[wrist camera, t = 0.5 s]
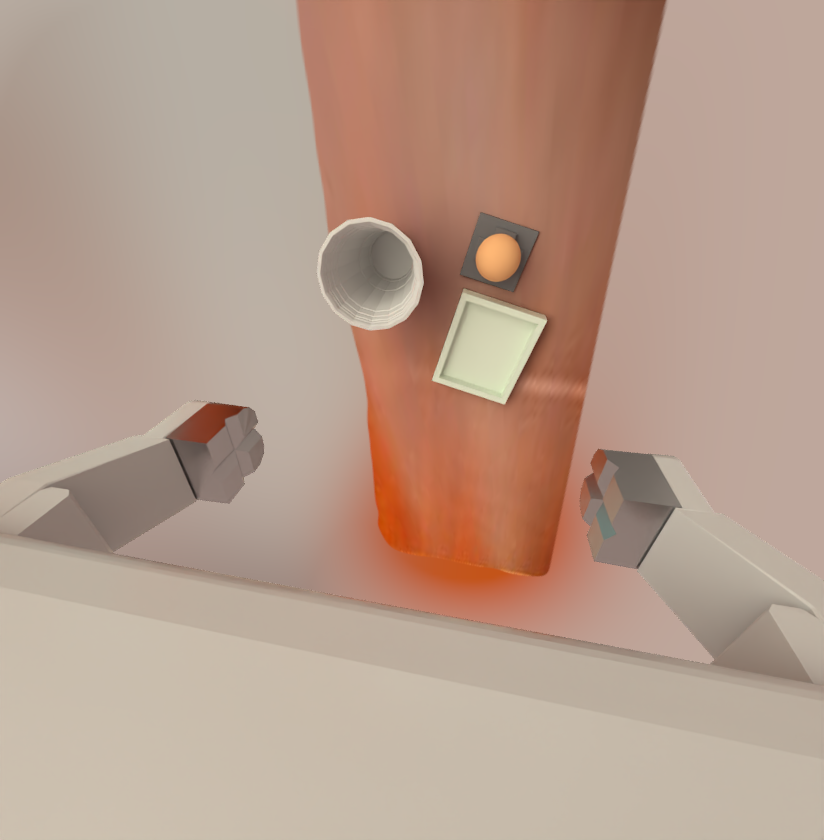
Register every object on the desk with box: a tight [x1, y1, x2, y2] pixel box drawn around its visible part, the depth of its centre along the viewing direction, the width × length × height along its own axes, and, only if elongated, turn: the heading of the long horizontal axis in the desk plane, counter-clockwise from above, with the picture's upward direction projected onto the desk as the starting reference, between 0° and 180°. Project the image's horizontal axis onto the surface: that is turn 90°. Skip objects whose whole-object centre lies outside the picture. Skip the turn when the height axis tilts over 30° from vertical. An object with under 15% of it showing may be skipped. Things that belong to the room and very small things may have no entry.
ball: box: [476, 234, 521, 282], centre depth 42 cm, size 5×5×5 cm
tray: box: [432, 288, 547, 405], centre depth 50 cm, size 13×11×2 cm
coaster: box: [460, 213, 539, 292], centre depth 44 cm, size 7×7×1 cm
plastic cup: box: [317, 217, 424, 330], centre depth 41 cm, size 11×11×12 cm
